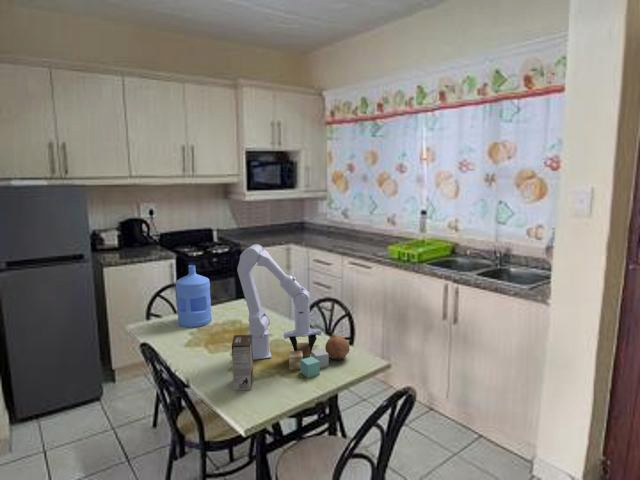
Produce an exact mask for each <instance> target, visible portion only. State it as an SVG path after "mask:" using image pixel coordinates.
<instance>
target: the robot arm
mask: <svg viewBox="0 0 640 480" xmlns="http://www.w3.org/2000/svg"><path fill="white" fill-rule="evenodd" d="M269 253H270V252H268V251H267V250H266V249H264V247H263V246H262V245H260V244H257V243H255V244H252V245H251V246H249V247H247V248H246V249H244V250H243V251H242V253H241V254H240V255H239V262H238V265H237V268H236V269H237V274H238V278H239V281H240V284H241V289H242V292H243V296H244V298H245V301H246V306H247V309H248V322H249V325H248V331H249V334H247V335H252V353H253V361H255V360H261V359H271V358H272V357H273V356H272V353H271V350H270V331H269V329H268V327H269V326H270V324H271V319H270V317H269V316H268V315H267V313H266V310H265V309H264V308H263V307H262V303H261V300H260V295H259V293H258V289H257V285H256V282H255V278H254V275H253V271H252V270H253V269H254V267H255V266H259V267H264V268H266V269H267V270H268V271H269V272H270V273H271V274H272V275H273V276H274V277H276V279H277V280H279V286H280V287H281V288H282V290H284V291H285V293H287V294H288V295H289V297H290V298H291V299H293V300H292V302H293V305H294V308H295V309H294V328H295V329H294V330H289V331H284V332H283V338H284V339H286V340H287V339H289V341H290V342H291V345H292V347H293V351H297V343H298V340H297V338H300V337H302V338H306V337H307V338H308V340H307V341H308V344H309V346H310V355H311V351H313V347H314V345H315V343H316V341H317V336H322V330H321V329H320V328H317V329H316V328H311V323H310V322H311V317H310V313H311V312H310V311H311V310H310V300H311V293H310V291H309V290H308V289H307V288H305V287H304V286H302V285H301V284H300V283H299V282H298V281H297V277H296V276H292V275H290V274H286V273H285V272H284V270H283V269H282V268H281V267H280V265H279V264H278V263H277V262H276V261H275V260H274V259H273V257H272V256H271V255H270V254H269Z"/></svg>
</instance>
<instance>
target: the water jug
mask: <svg viewBox="0 0 640 480" xmlns="http://www.w3.org/2000/svg"><path fill="white" fill-rule="evenodd" d="M175 290H176V302H177V303H176V304H177V305H176V306H177V323H178V325H179V326H180V327H183V328H200V327H203V326H207V325H209V324H210V323H211V322H212V307H211V305H212V300H211V283H210V278H208V277H206V276H203V275H200V274H197V272H196V265H195V264H190V265H188V274H187V275H185V276H182V277H181V278H179V279H178V280H176V281H175Z"/></svg>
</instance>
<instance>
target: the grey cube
mask: <svg viewBox="0 0 640 480" xmlns="http://www.w3.org/2000/svg"><path fill="white" fill-rule="evenodd" d="M310 357H314V358H315V359H317V360H318V361H320V369H321V368H326V367H329V366H330V365H329V361H330V359H329V357H330V356H329V354H328V353H327V352H326V349H325V348H321V349H315V350H314V349H313V350H312V351H311V354H310Z"/></svg>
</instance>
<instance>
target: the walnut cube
mask: <svg viewBox="0 0 640 480" xmlns="http://www.w3.org/2000/svg"><path fill="white" fill-rule="evenodd" d="M297 351H302V354H303V359H305V358H309V357H311V354H310V346H309V342H307V341H306V342H297Z"/></svg>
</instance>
